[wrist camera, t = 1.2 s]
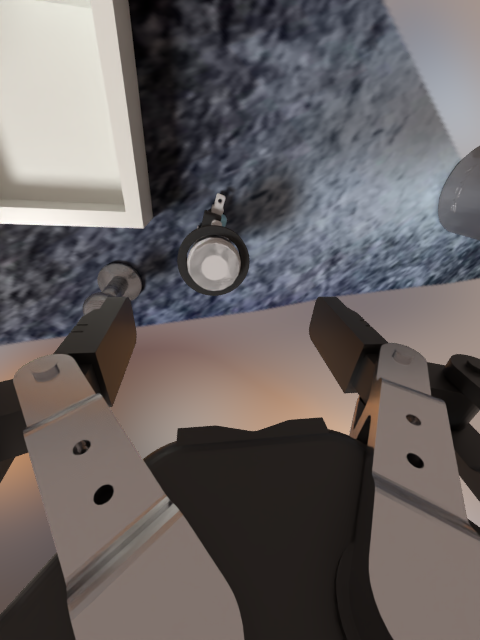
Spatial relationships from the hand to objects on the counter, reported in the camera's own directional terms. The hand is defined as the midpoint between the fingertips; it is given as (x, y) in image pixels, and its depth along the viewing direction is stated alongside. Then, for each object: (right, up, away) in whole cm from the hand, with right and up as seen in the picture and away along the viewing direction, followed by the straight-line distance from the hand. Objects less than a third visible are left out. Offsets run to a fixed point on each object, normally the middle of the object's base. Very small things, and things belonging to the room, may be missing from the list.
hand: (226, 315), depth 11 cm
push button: (-2, +9, +15) cm, 18 cm away
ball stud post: (-13, +4, +17) cm, 21 cm away
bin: (-15, +16, +9) cm, 23 cm away
